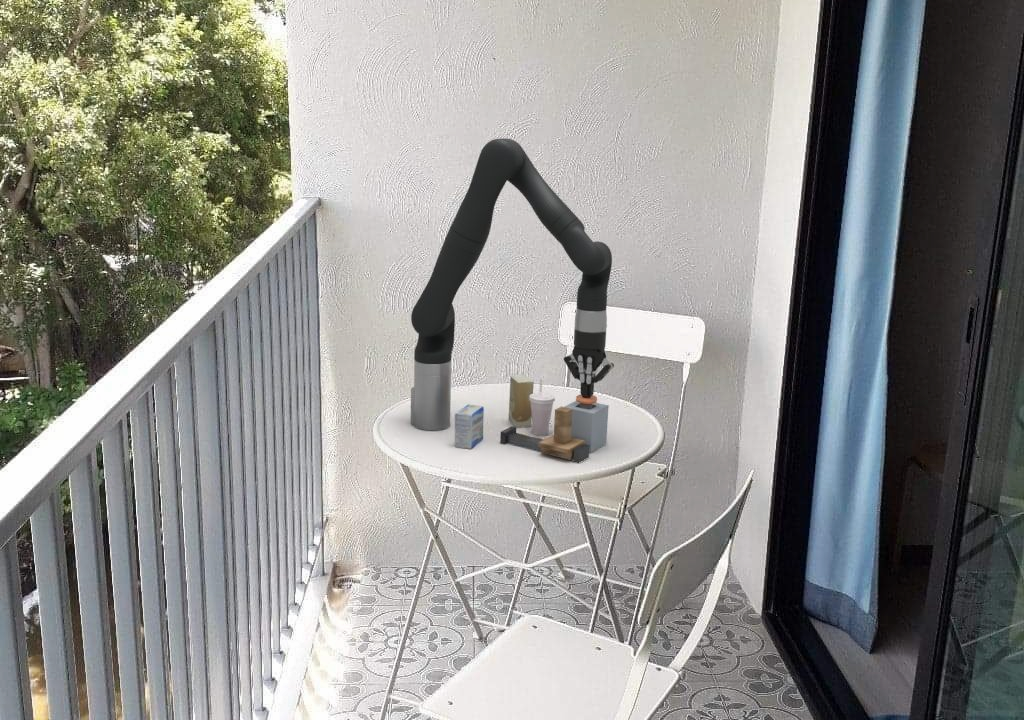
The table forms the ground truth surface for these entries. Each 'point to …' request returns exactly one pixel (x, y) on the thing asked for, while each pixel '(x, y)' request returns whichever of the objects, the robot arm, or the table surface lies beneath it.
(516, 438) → the rail
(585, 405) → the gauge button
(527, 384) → the skincare box
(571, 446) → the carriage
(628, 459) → the table surface
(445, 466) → the table surface
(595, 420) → the grey button box
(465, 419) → the medicine box
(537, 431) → the smoothie
